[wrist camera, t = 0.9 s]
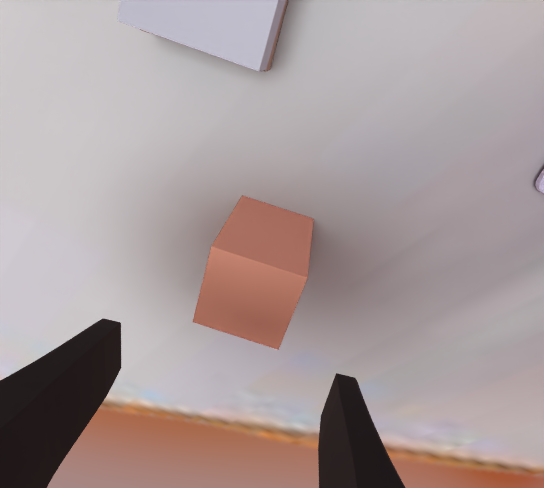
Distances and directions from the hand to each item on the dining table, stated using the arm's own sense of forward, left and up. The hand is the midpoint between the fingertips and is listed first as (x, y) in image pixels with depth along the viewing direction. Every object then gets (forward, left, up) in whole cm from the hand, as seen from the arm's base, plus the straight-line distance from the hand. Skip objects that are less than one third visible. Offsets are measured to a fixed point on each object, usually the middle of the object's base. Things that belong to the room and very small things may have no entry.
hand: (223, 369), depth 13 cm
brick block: (0, 0, -10) cm, 10 cm away
